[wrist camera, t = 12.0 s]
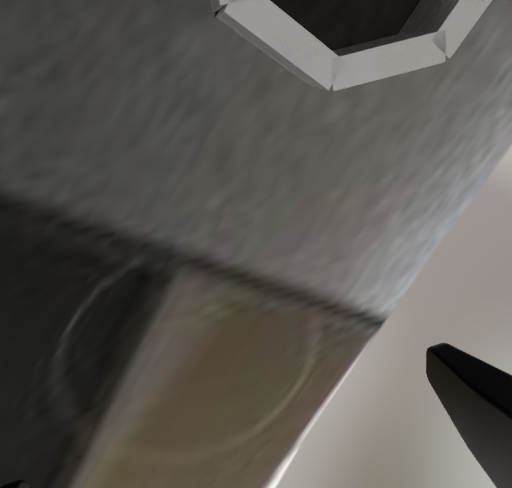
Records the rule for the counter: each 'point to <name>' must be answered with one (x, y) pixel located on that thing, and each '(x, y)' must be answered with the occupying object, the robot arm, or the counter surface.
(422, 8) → the white octagonal ring
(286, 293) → the counter surface
